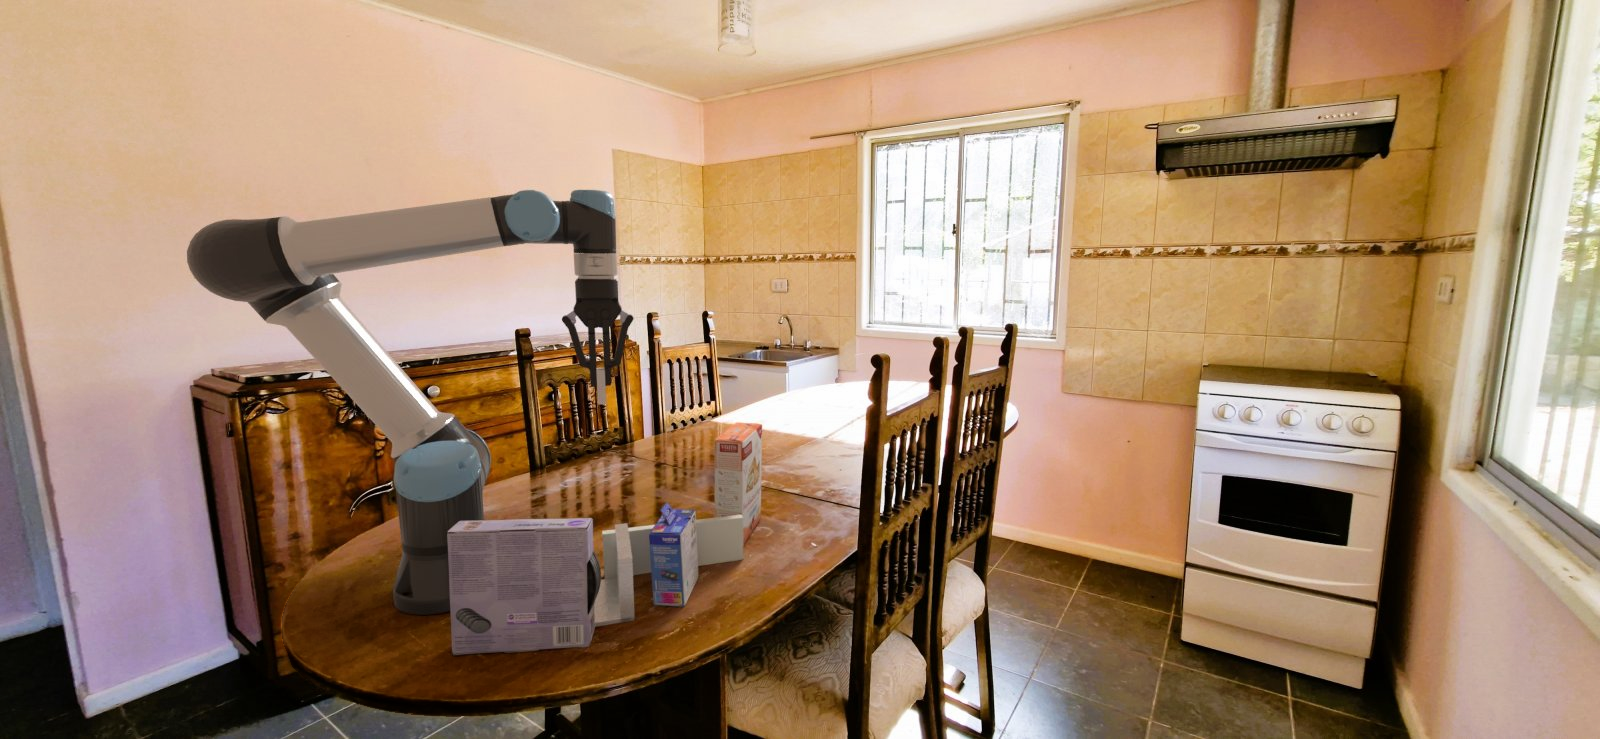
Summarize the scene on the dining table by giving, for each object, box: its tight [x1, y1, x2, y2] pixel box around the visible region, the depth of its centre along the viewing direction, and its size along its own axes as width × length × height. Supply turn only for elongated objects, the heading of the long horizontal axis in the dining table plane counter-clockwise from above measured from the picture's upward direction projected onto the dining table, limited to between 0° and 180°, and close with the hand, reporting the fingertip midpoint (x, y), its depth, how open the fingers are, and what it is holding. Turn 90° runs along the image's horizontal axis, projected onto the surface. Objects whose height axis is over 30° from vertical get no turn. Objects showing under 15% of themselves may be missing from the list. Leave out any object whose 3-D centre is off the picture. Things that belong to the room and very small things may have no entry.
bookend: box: [594, 522, 636, 628], centre depth 97 cm, size 8×13×10 cm, turn 18°
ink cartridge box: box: [649, 502, 699, 607], centre depth 101 cm, size 10×6×14 cm, turn 176°
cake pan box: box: [447, 517, 602, 656], centre depth 86 cm, size 19×5×18 cm, turn 98°
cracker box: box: [714, 422, 763, 546], centre depth 123 cm, size 14×6×21 cm, turn 168°
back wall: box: [601, 515, 744, 580], centre depth 109 cm, size 24×2×8 cm, turn 108°
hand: (601, 402), depth 119 cm, fingers closed
